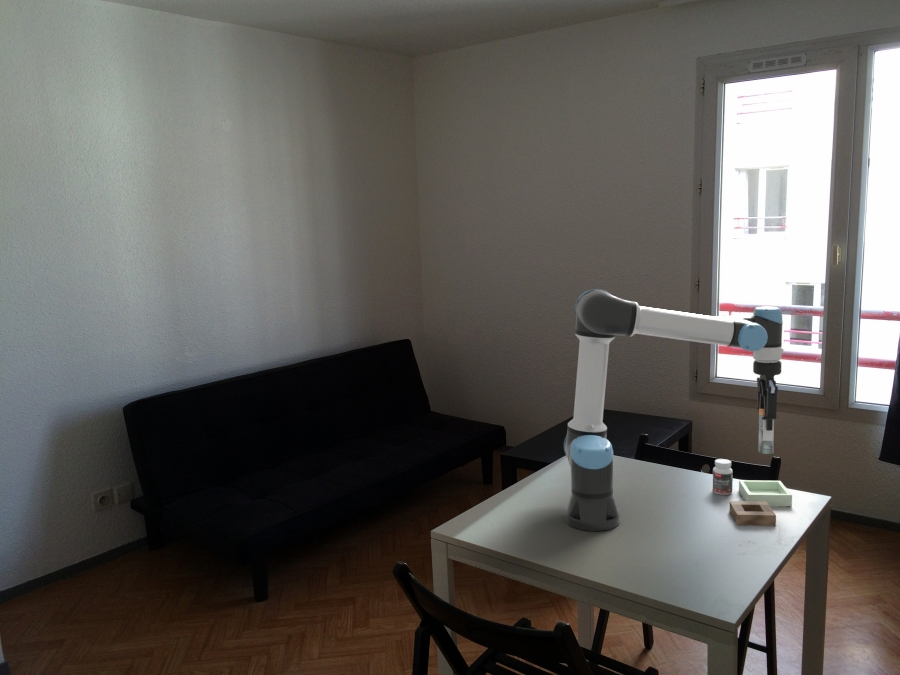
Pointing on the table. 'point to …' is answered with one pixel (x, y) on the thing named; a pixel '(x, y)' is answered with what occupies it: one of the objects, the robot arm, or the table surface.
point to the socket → (752, 513)
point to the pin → (764, 446)
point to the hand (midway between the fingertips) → (766, 437)
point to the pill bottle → (722, 477)
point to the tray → (765, 492)
